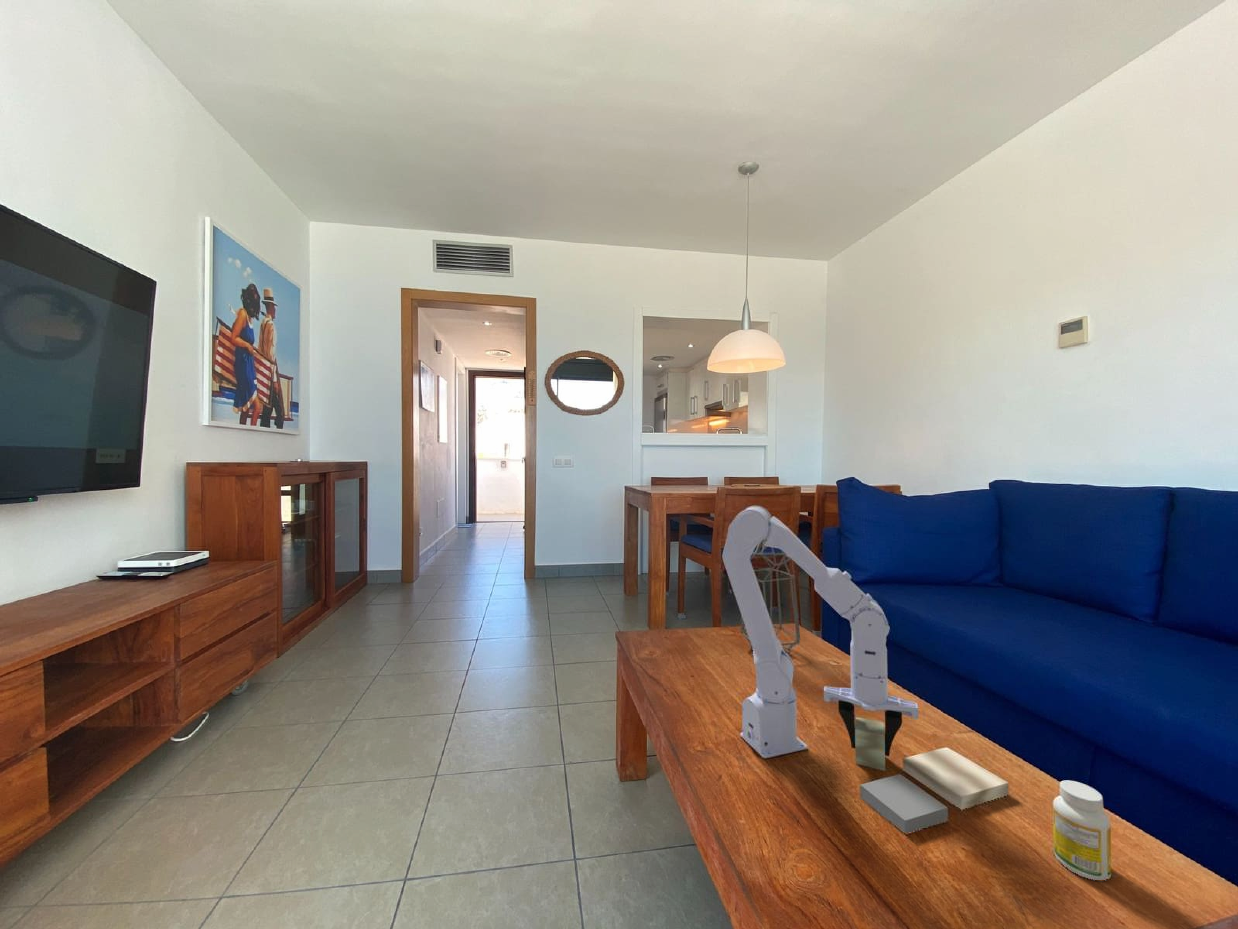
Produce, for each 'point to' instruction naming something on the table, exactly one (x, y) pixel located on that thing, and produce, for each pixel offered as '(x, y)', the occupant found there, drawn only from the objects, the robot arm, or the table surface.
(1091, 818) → the supplement bottle
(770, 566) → the geometric lantern
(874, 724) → the sage green block
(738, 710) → the table surface
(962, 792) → the pale ash block
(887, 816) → the slate grey block
